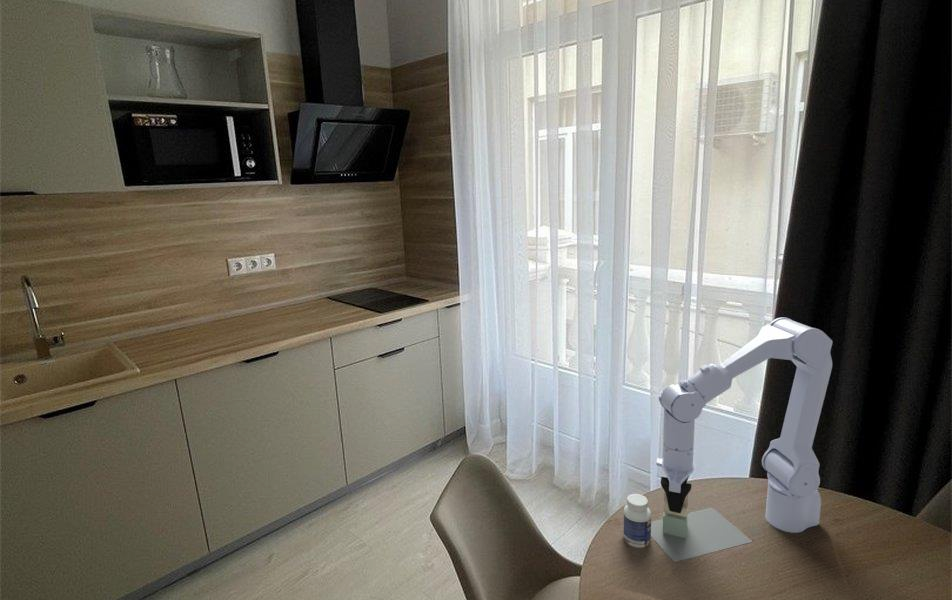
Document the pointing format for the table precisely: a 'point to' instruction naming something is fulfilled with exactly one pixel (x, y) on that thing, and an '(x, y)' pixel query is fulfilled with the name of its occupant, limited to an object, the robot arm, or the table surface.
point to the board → (699, 535)
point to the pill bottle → (637, 521)
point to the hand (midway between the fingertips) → (675, 504)
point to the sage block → (675, 525)
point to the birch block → (683, 512)
